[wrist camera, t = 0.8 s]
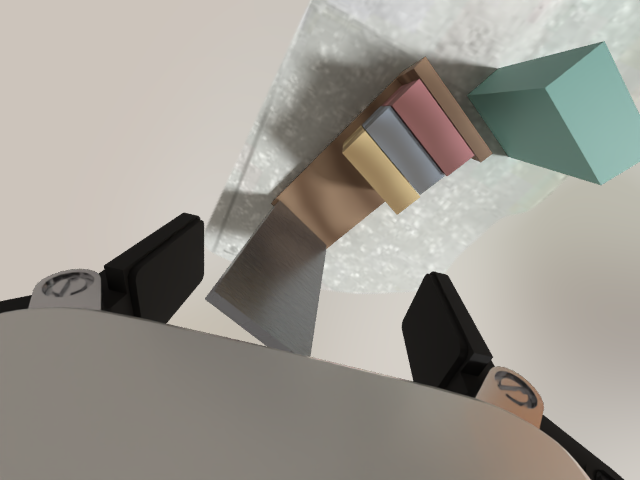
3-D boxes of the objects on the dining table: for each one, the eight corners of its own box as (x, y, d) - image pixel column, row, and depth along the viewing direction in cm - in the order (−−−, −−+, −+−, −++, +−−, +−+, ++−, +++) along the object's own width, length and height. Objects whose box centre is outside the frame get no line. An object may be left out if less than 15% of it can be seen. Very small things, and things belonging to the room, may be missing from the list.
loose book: (498, 68, 31) (604, 41, 18) (539, 134, 34) (657, 151, 21) (467, 95, 33) (544, 88, 20) (508, 156, 35) (601, 185, 23)
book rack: (402, 71, 32) (425, 56, 23) (454, 141, 35) (492, 153, 26) (273, 200, 41) (251, 227, 32) (323, 247, 44) (316, 285, 35)
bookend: (279, 199, 39) (213, 290, 20) (326, 245, 42) (309, 364, 22) (274, 205, 40) (204, 298, 20) (321, 249, 42) (299, 370, 23)
